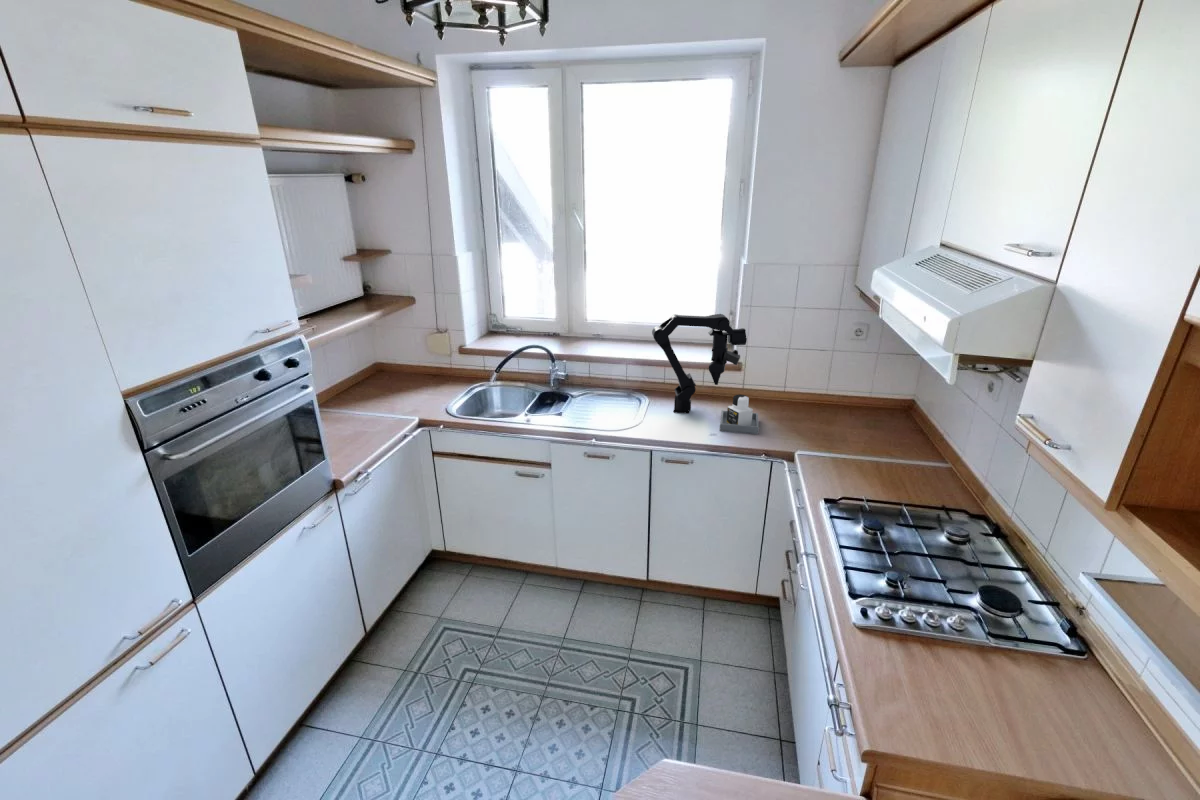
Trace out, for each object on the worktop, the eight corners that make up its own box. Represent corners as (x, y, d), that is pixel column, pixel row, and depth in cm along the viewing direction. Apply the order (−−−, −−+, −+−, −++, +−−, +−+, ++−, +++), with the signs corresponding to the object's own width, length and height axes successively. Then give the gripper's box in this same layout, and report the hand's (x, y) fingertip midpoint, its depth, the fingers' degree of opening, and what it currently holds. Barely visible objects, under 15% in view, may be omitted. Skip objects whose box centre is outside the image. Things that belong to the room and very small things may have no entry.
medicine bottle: (726, 422, 227) (728, 394, 223) (740, 419, 230) (742, 391, 226) (737, 428, 221) (739, 400, 217) (751, 425, 224) (754, 397, 220)
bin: (719, 430, 221) (720, 423, 220) (721, 417, 234) (721, 410, 233) (758, 434, 218) (758, 427, 217) (757, 420, 231) (757, 413, 230)
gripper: (738, 352, 221) (735, 390, 226) (741, 340, 237) (738, 376, 243) (709, 350, 224) (707, 387, 229) (714, 339, 240) (712, 374, 246)
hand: (717, 381), depth 237 cm, fingers open, 9 cm apart
